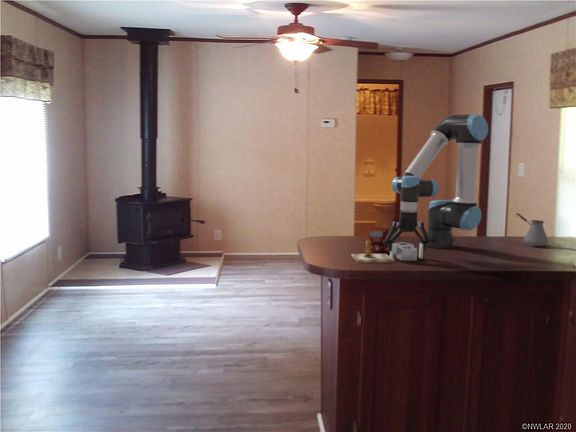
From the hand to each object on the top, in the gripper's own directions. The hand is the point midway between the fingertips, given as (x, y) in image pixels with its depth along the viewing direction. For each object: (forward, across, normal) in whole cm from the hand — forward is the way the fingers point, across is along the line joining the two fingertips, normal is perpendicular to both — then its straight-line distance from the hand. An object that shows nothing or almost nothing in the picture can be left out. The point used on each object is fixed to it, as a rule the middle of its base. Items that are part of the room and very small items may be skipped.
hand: (406, 258), depth 266 cm
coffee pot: (0, -78, -33) cm, 85 cm away
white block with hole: (0, -1, -8) cm, 8 cm away
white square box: (0, 0, 0) cm, 0 cm away
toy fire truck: (0, +7, -16) cm, 17 cm away
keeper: (0, +16, +1) cm, 16 cm away
